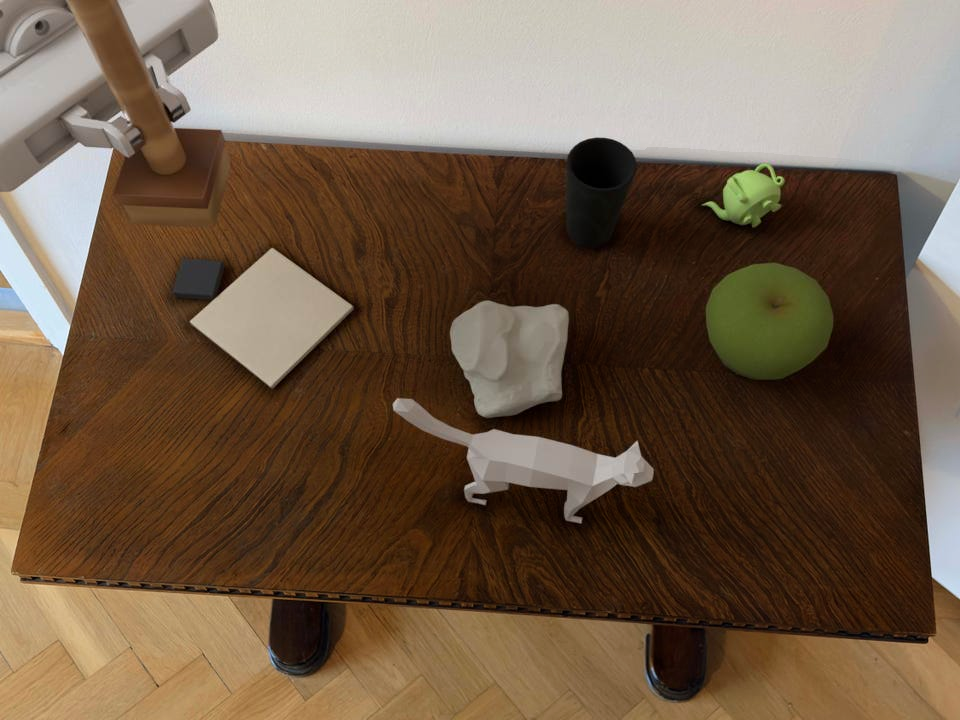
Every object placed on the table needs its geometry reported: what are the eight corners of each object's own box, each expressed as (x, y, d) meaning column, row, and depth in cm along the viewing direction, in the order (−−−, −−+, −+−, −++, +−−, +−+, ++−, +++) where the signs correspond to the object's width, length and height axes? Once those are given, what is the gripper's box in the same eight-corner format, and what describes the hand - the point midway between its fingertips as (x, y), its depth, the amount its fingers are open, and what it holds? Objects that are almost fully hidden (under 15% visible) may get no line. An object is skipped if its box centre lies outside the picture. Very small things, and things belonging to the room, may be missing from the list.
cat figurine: (630, 537, 71) (662, 480, 59) (399, 490, 73) (383, 425, 61) (636, 488, 73) (669, 422, 61) (412, 443, 75) (398, 370, 63)
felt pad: (215, 300, 82) (212, 295, 81) (175, 298, 82) (171, 292, 81) (225, 266, 84) (222, 261, 83) (185, 264, 84) (182, 258, 83)
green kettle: (750, 184, 89) (766, 147, 84) (781, 221, 86) (799, 185, 81) (701, 206, 87) (714, 169, 82) (730, 244, 85) (746, 208, 80)
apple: (795, 303, 82) (833, 242, 73) (817, 402, 77) (861, 349, 68) (683, 305, 82) (708, 244, 73) (698, 404, 77) (727, 351, 68)
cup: (547, 239, 85) (554, 173, 77) (575, 195, 88) (585, 127, 79) (604, 264, 84) (618, 201, 75) (631, 220, 87) (648, 153, 78)
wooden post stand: (217, 230, 62) (43, -162, 37) (130, 226, 62) (-101, -166, 37) (234, 163, 65) (84, -240, 40) (151, 159, 65) (-49, -245, 40)
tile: (272, 389, 78) (271, 386, 77) (191, 324, 81) (189, 321, 80) (354, 309, 82) (353, 306, 81) (273, 250, 85) (272, 247, 84)
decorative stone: (475, 435, 74) (447, 333, 69) (462, 389, 82) (436, 295, 78) (595, 402, 74) (575, 298, 70) (570, 359, 82) (550, 264, 78)
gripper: (-130, 85, 54) (4, 191, 50) (122, -75, 61) (256, 6, 57) (-73, 153, 59) (52, 254, 55) (152, -1, 67) (276, 78, 63)
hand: (158, 126), depth 56 cm, fingers closed on wooden post stand, 2 cm apart
